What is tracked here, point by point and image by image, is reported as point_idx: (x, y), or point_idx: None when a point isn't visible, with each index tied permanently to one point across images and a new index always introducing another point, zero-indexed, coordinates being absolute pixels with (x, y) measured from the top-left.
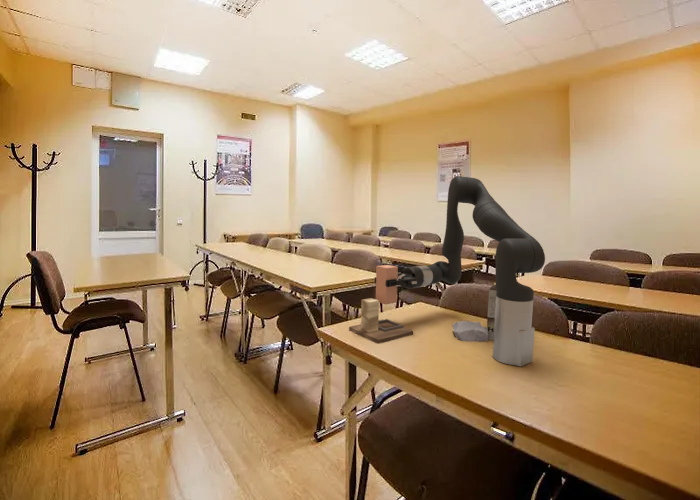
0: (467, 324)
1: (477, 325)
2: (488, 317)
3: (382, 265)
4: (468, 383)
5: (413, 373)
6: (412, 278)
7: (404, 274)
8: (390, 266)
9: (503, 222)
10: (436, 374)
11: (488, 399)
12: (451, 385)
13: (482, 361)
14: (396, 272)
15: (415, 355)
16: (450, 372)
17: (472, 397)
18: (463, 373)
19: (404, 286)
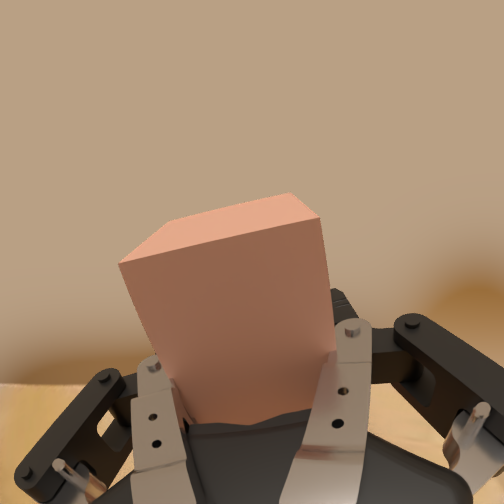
0: None
1: None
2: None
3: (296, 202)
4: (20, 409)
5: (83, 386)
6: (45, 463)
7: (147, 475)
8: (197, 231)
9: None
10: (55, 403)
11: (7, 394)
12: (37, 394)
13: (2, 480)
14: (148, 316)
15: (102, 434)
16: (39, 419)
17: (19, 388)
18: (24, 427)
19: (116, 424)
